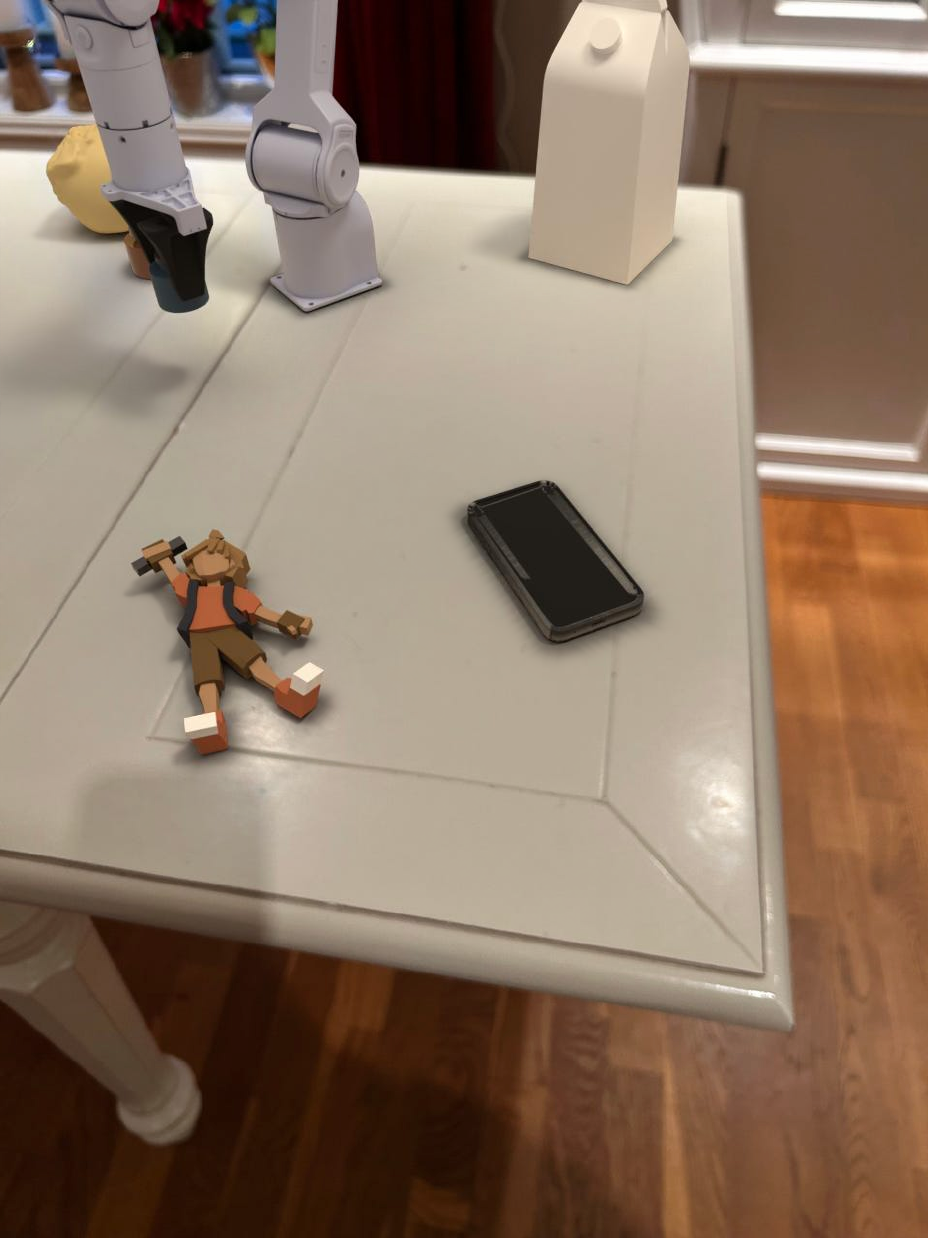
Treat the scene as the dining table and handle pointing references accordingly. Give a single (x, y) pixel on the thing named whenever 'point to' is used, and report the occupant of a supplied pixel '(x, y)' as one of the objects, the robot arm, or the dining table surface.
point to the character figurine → (226, 631)
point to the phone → (554, 560)
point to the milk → (610, 140)
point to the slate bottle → (171, 291)
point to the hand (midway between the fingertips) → (180, 284)
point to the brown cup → (136, 256)
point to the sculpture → (84, 179)
